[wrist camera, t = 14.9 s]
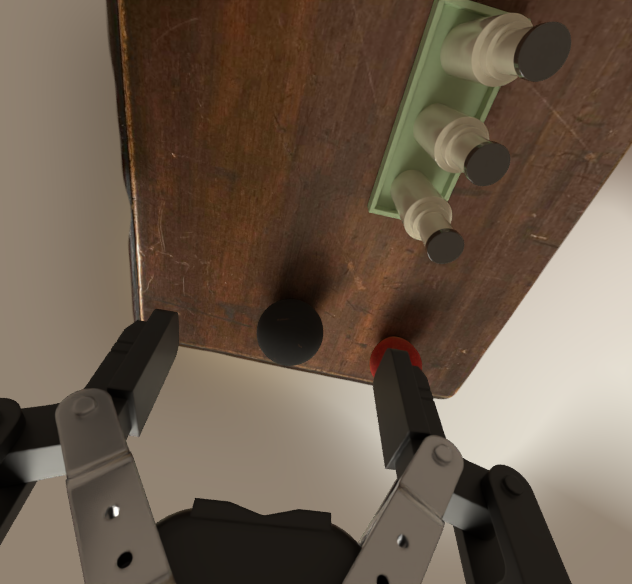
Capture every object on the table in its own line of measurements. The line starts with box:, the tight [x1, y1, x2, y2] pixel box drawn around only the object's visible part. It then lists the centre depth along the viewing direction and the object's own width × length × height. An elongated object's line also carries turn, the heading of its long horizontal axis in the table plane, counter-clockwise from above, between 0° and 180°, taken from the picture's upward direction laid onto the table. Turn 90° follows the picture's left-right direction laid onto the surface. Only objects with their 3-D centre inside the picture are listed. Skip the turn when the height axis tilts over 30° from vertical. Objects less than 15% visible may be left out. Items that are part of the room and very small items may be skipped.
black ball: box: [257, 299, 323, 366], centre depth 53 cm, size 10×10×10 cm
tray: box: [368, 0, 531, 219], centre depth 40 cm, size 22×9×2 cm, turn 167°
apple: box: [370, 337, 422, 377], centre depth 57 cm, size 8×8×10 cm
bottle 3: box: [390, 170, 464, 264], centre depth 38 cm, size 5×5×16 cm
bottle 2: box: [413, 103, 510, 186], centre depth 34 cm, size 5×5×16 cm
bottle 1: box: [440, 13, 571, 87], centre depth 30 cm, size 5×5×16 cm
